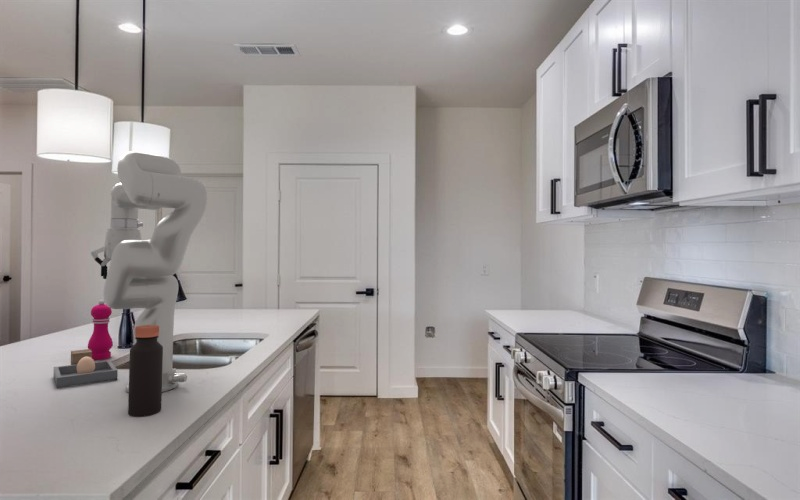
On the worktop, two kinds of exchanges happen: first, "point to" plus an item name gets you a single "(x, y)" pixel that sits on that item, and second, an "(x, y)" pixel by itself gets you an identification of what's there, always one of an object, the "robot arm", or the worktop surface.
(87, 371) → the egg
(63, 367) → the dish
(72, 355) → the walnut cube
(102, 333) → the pepper mill
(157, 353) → the bottle
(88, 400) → the worktop surface
